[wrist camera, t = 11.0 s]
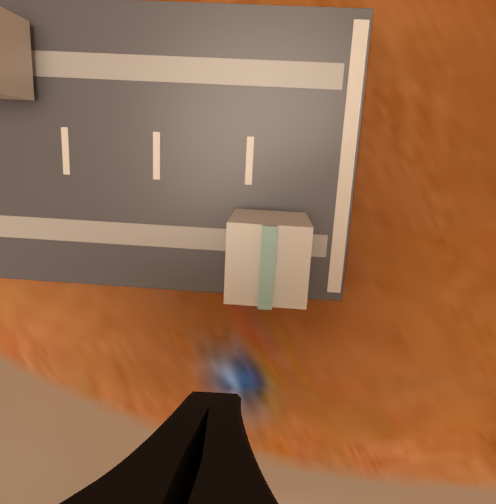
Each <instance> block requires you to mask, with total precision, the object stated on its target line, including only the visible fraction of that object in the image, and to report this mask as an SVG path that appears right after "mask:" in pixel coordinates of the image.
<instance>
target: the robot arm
mask: <svg viewBox="0 0 496 504" xmlns="http://www.w3.org/2000/svg"><path fill="white" fill-rule="evenodd" d="M60 504H278V502H277V501H276V499H275V497H274V495H273V494H272V492H271V490H270V488H269V487H268V485H267V483H266V481H265V479H264V477H263V475H262V473H261V471H260V469H259V466H258V464H257V461H256V459H255V457H254V454H253V452H252V449H251V446H250V444H249V441H248V437H247V434H246V431H245V428H244V424H243V420H242V415H241V398H240V397H239V396H238V395H237V394H228V393H211V392H192V393H191V394H190V395H189V396H188V397H187V398H186V399H185V400H184V401H183V402H182V404H181V405H180V406H179V407H178V408H177V409H176V410H175V411H174V412H173V413H172V415H171V416H170V417H169V418H168V419H167V420H166V421H165V422H164V423H163V424H162V425H161V426H160V427H159V428H158V429H157V430H156V431H155V432H154V433H153V434H152V435H151V436H150V437H149V438H148V439H147V440H146V441H145V442H143V443H142V444H141V445H140V446H139V447H138V448H137V449H136V450H135V451H134V452H132V453H131V454H130V455H129V456H128V457H127V458H125V459H124V460H123V461H122V462H121V463H119V464H118V465H117V466H116V467H114V468H113V469H112V470H110V471H109V472H107V473H106V474H105V475H103V476H102V477H101V478H99V479H98V480H96V481H95V482H93V483H92V484H90V485H89V486H87V487H86V488H84V489H82V490H81V491H79V492H77V493H76V494H74V495H73V496H71V497H69V498H68V499H66V500H65V501H63V502H62V503H60Z"/></svg>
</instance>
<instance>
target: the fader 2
mask: <svg viewBox="0 0 496 504" xmlns="http://www.w3.org/2000/svg"><path fill="white" fill-rule="evenodd" d="M313 229H314V227H313V225H312V223H311V221H310V219H309V217H308V215H307V213H306V212H291V211H274V210H257V209H239V208H236V209H235V210H234V212H233V213H232V215H231V216H230V218H229V219H228V221H227V225H226V251H225V277H224V303H223V304H232V305H247V306H258V309H261V310H272V307H276V308H290V309H305V310H306V309H307V297H308V286H309V274H310V263H311V252H312V240H313Z"/></svg>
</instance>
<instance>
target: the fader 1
mask: <svg viewBox="0 0 496 504" xmlns="http://www.w3.org/2000/svg"><path fill="white" fill-rule="evenodd" d="M0 99H12V100H33V101H34V86H33V71H32V56H31V41H30V25H29V21H28V20H26V19H24V18H22V17H20V16H18V15H16V14H14V13H12V12H11V11H9V10H7V9H5V8H3V7H1V6H0Z"/></svg>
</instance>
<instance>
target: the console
mask: <svg viewBox="0 0 496 504" xmlns="http://www.w3.org/2000/svg"><path fill="white" fill-rule="evenodd" d="M0 6H1V7H3V8H5V9H7V10H9V11H11V12H12V13H14V14H16V15H18V16H20V17H22V18H24V19H26V20H28V21H29V25H30V41H31V56H32V71H33V86H34V101H33V100H12V99H0V278H9V279H24V280H39V281H53V282H68V283H83V284H97V285H112V286H127V287H142V288H156V289H171V290H186V291H201V292H215V293H224V277H225V251H226V225H227V221H228V219H229V218H230V216H231V215H232V213H233V212H234V210H235V209H236V208H239V209H257V210H274V211H291V212H306V213H307V215H308V217H309V219H310V221H311V223H312V225H313V227H314V229H313V240H312V252H311V263H310V274H309V286H308V297H307V299H318V300H333V301H342V293H343V284H344V275H345V266H346V256H347V247H348V238H349V229H350V219H351V210H352V201H353V192H354V182H355V173H356V164H357V155H358V145H359V136H360V127H361V118H362V108H363V99H364V90H365V81H366V71H367V62H368V53H369V44H370V34H371V25H372V16H373V9H365V8H336V7H308V6H280V5H251V4H223V3H195V2H166V1H138V0H0Z"/></svg>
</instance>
